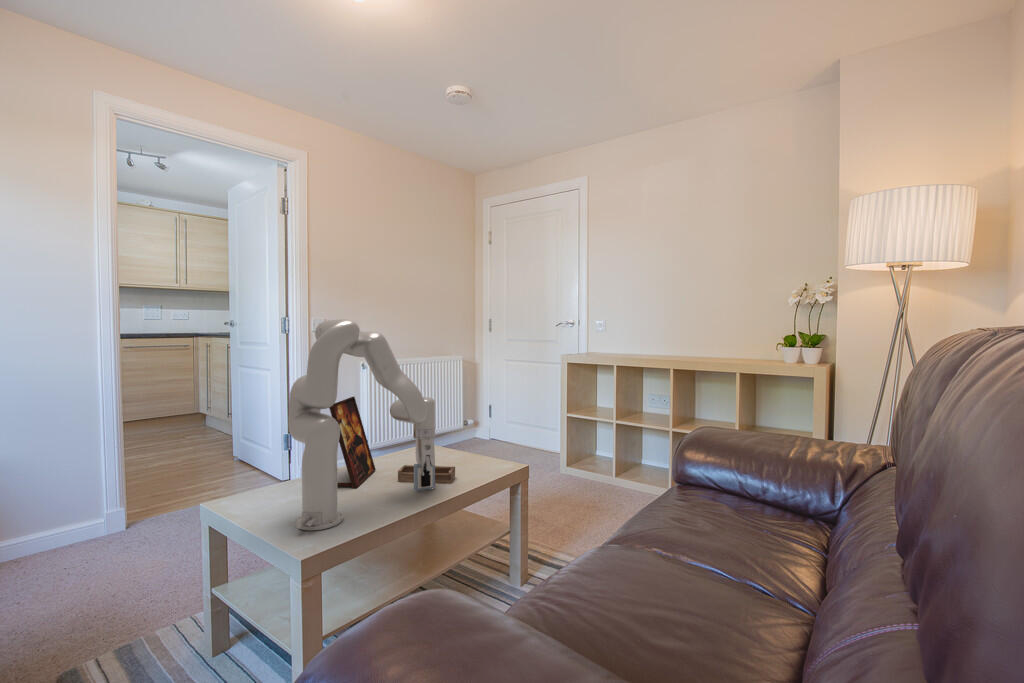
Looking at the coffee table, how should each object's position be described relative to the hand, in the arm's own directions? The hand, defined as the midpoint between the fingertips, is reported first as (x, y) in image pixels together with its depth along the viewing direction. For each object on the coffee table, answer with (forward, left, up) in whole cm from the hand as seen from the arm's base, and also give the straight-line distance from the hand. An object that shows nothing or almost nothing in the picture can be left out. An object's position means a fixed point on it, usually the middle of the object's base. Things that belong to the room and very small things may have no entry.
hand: (424, 484), depth 163 cm
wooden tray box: (+10, +2, -2) cm, 10 cm away
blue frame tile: (0, 0, -2) cm, 2 cm away
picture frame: (+8, +30, -2) cm, 31 cm away
